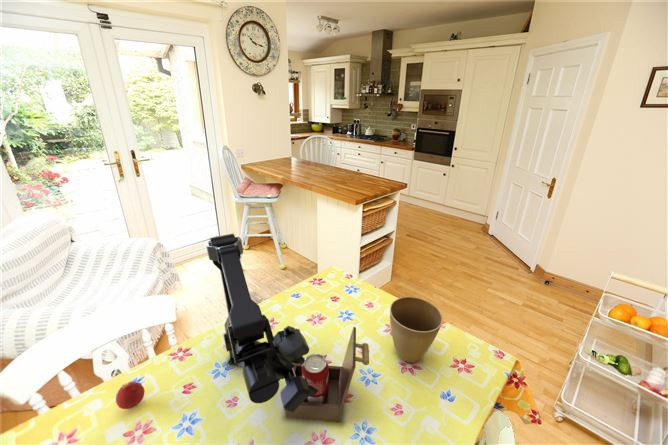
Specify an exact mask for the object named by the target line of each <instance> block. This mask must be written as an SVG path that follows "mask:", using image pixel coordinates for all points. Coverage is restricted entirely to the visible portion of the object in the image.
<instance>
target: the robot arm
mask: <svg viewBox="0 0 668 445" xmlns="http://www.w3.org/2000/svg"><path fill="white" fill-rule="evenodd" d="M205 247H206V253H207V256H208V259H209V261H212V264H213V265H214V266H215V267H216V268H217V269H218V270H219V274H220V276H221V277H220V278H221V284H222V288H223V294H224V300H225V304H226V310H227V318H226V321H225V322H224V330H225V331H224V332H223V333H222V336H223V342H224V346H225V350H226V353H228V354H229V359H228V362H227V364H228V365H232V366H239V367H241V368H242V377H243V380H244V384H245V387H246V391H247V394H248V397H249V400H250V401H251V402H252V403H254V404H263V403H267V402H269V401H270V400H271V399H272V398H274V397H275V396H276V394H277V393H278V391H279V390H280V381H281V380H284V381H285V384H286V385H285V386H284V387H283V389H281V391H280V392H279V396H280V399H281V403H282V408H283V411H284V412H285V411H289V412H294V411H295V410H296V409H297V408H298V407H299V405H300V404H301V403H302V402H303V401H304V400H305V399H306V398H307V397H310V396H312V395H315V394H316V393H317V392H318V390H317V389H316V388H314V387H312V386H310V385H308V382H307V379H306V377H305V379H304V378H303V377H302V376H297V377H296V375H295V373H294V370H293V367H294V366H295V364H294V363H298V364H303V363H304V361H305V359H306V357H304V356H306V355H308V354H309V353H310V346H309V344H308V342H307V339H306V338H305V337H304V335H303V334H302V332H301V329H299V328H295V327H293V326H290V325H287V326H286V327H284V328H283V330H279V331H277V332H276V334H275V335H274V334H273V330H272V327H271V322H270V320H269V318H268V317H267V316H266V314H263V313H262V310H261V308H260V305H259V304H258V303H256V301H254V300H253V299H252V298H251V294H250V291H249V287H248V284H247V280H246V276H245V272H244V270H243V266H242V262H241V258H242V257H241V255H242V254H244V247H243V240H242V238H241V237H240V236H236V235H235V234H234V233H229V234H223V235H218V236H217V235H216V236H212V237H209V241H208V242H205ZM264 338H266V340H265V341H262V342H261V341H259V340H262V339H264Z"/></svg>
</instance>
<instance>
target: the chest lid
mask: <svg viewBox="0 0 668 445" xmlns="http://www.w3.org/2000/svg"><path fill="white" fill-rule="evenodd" d="M369 346H370V345H369V344H368V343H367V342H363V343H357V327H356V326H353V327H352V330H351V334H350V337H349V341H348V344H347V348H346V351H345V354H344V358H343V361H342V365H341V367H342V377H341V393H340V407H341V408H343V407H344V404H345V401H346V399H347V395H348V392H349V389H350V387H351V386H350V385H351V382H352V380H353V376H354V373H355V369H356V363H357V362H358V363H362V365H363V366H368V365H369V364H370V348H369ZM357 349H361V357H359V356H357V352H356V351H357Z"/></svg>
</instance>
